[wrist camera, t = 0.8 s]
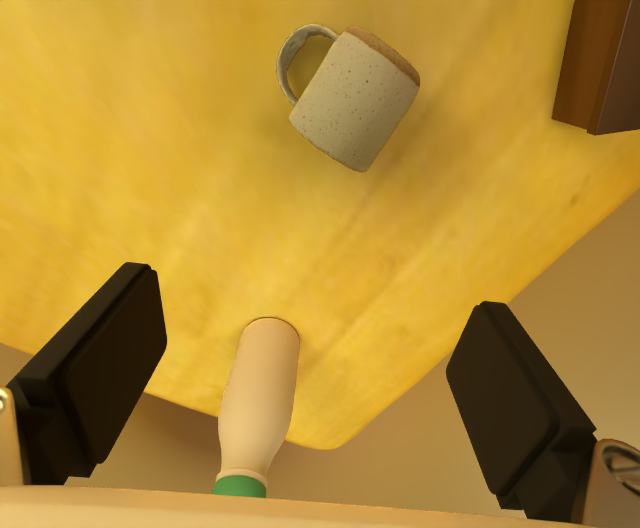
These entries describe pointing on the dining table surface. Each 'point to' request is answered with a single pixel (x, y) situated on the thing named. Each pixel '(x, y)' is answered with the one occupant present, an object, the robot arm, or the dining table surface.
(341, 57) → the ceramic mug
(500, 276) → the dining table surface
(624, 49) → the tea box
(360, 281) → the dining table surface
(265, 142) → the dining table surface
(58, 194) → the dining table surface
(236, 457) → the milk bottle
